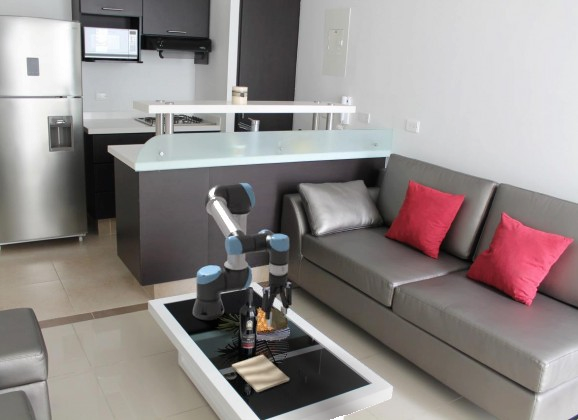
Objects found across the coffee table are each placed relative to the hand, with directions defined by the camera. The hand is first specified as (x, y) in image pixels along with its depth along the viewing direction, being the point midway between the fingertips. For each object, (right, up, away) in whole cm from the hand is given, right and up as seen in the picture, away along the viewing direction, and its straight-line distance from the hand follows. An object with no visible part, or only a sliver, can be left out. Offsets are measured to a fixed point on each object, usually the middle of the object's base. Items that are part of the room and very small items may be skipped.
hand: (275, 323), depth 227 cm
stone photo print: (-6, -19, -5) cm, 21 cm away
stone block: (0, -1, 0) cm, 1 cm away
